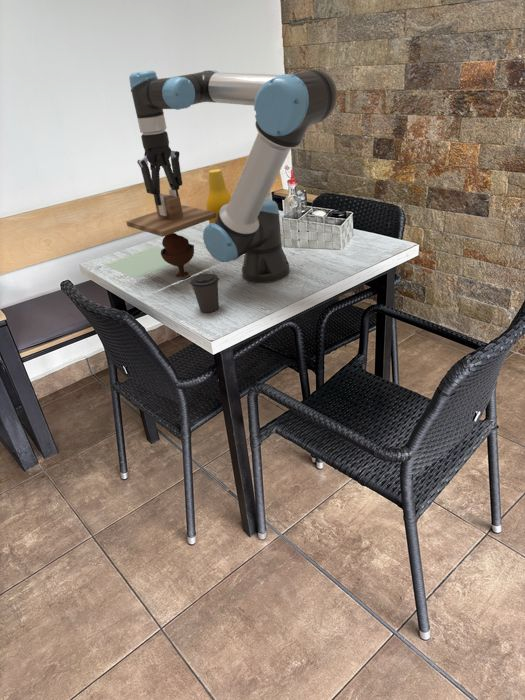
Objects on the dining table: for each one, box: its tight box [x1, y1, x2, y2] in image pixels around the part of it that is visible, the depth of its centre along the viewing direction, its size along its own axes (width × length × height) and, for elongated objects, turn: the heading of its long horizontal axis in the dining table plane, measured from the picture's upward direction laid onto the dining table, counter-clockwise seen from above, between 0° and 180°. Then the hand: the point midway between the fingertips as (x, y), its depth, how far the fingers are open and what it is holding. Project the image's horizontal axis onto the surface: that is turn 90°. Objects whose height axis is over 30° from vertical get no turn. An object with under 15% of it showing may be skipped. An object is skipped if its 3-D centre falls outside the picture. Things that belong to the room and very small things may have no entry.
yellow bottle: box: [206, 168, 232, 225], centre depth 179 cm, size 9×9×29 cm
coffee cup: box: [189, 273, 220, 315], centre depth 148 cm, size 8×8×10 cm
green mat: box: [104, 245, 172, 280], centre depth 188 cm, size 22×22×1 cm
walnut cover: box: [126, 193, 216, 238], centre depth 162 cm, size 20×20×8 cm
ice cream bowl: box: [161, 232, 195, 281], centre depth 170 cm, size 11×11×15 cm
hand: (169, 212), depth 163 cm, fingers closed on walnut cover, 4 cm apart
